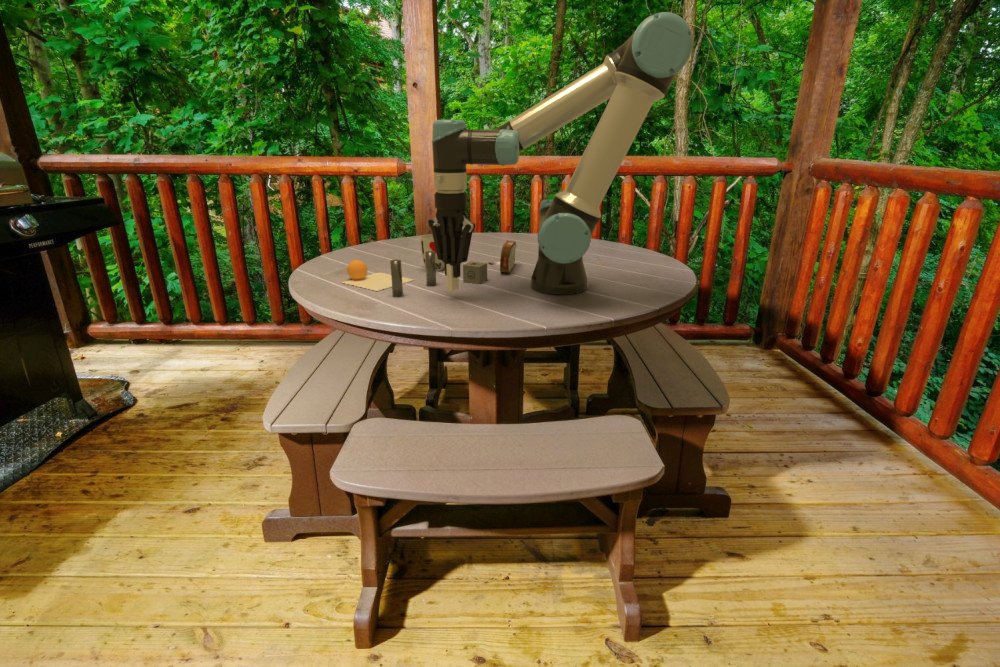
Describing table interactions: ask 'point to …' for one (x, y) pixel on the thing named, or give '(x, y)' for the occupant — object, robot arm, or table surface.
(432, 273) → the right post
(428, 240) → the cup
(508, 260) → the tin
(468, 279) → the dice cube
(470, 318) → the table surface
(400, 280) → the left post
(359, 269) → the ball
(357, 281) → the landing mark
